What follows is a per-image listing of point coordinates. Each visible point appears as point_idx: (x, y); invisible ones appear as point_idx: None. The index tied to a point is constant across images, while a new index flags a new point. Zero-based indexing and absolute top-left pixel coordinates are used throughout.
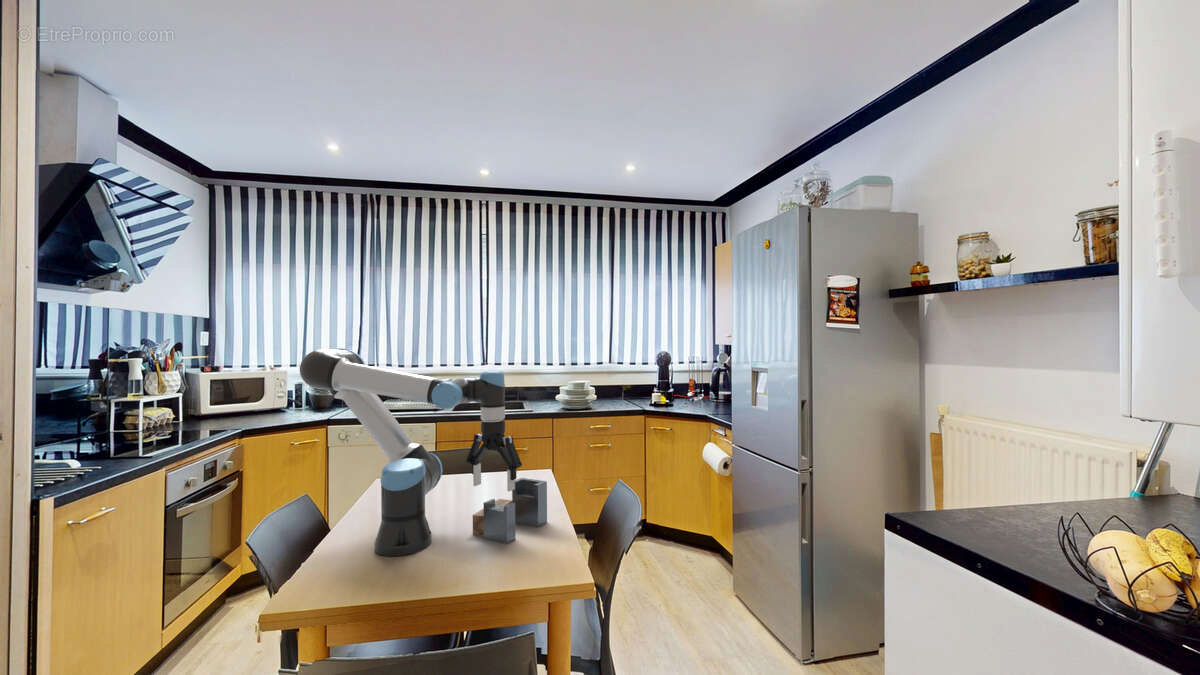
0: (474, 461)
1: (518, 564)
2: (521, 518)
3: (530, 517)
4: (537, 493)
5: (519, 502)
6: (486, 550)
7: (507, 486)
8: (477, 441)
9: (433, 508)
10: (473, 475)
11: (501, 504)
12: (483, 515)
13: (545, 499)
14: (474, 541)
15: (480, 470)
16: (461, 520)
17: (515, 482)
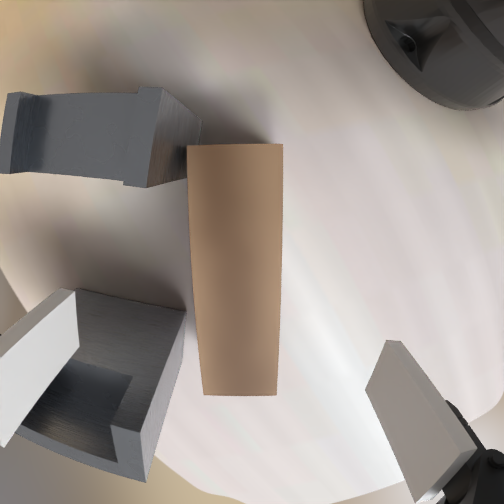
0: (484, 483)
1: (28, 31)
2: (136, 312)
3: (92, 307)
4: None
5: (123, 349)
6: (142, 47)
7: (57, 305)
8: None
9: (501, 333)
10: (434, 387)
11: (219, 337)
12: (217, 155)
13: None
14: (229, 94)
15: (399, 457)
16: (396, 277)
17: (113, 422)
